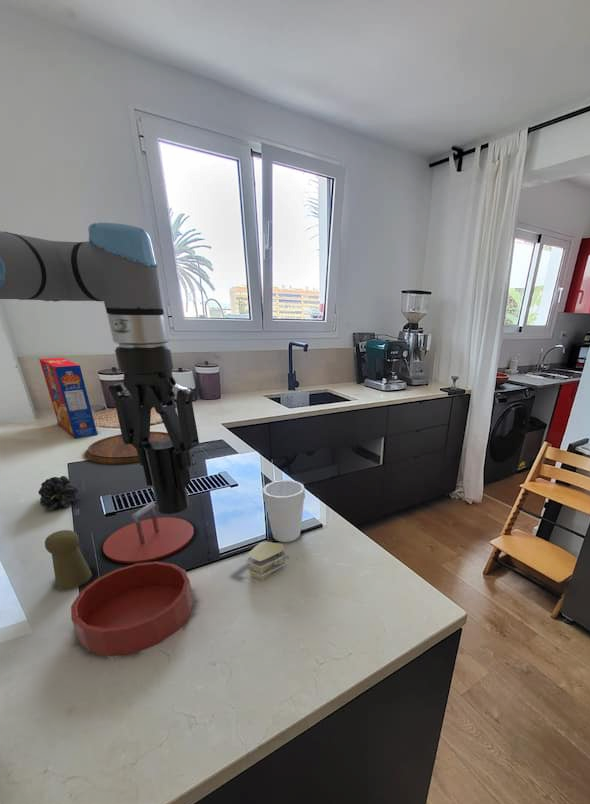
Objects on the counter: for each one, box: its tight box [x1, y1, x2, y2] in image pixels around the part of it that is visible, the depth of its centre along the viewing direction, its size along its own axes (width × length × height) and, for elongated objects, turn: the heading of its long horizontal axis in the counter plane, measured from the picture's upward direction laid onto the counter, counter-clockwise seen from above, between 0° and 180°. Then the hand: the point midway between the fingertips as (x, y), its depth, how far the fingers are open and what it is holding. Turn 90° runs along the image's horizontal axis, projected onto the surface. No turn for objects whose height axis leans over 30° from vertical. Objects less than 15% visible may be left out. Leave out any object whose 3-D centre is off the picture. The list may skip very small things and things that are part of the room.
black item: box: [144, 440, 190, 515], centre depth 68 cm, size 5×5×12 cm
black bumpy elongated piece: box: [37, 475, 79, 511], centre depth 106 cm, size 9×8×15 cm
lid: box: [102, 501, 195, 564], centre depth 90 cm, size 19×19×9 cm
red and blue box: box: [38, 357, 98, 440], centre depth 162 cm, size 28×8×28 cm, turn 46°
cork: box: [44, 529, 93, 590], centre depth 76 cm, size 6×6×11 cm
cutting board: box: [84, 431, 171, 465], centre depth 147 cm, size 32×32×2 cm
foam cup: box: [262, 479, 306, 543], centre depth 92 cm, size 10×9×13 cm
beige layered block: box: [245, 541, 286, 581], centre depth 81 cm, size 10×9×6 cm
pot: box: [70, 561, 194, 657], centre depth 68 cm, size 18×18×6 cm
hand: (169, 483), depth 69 cm, fingers closed on black item, 5 cm apart
